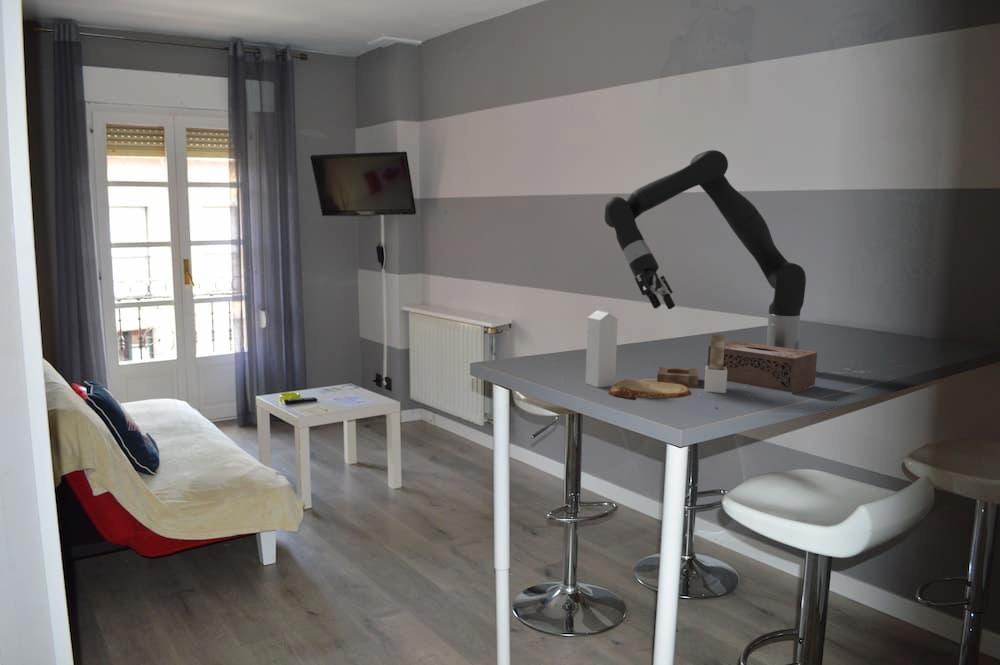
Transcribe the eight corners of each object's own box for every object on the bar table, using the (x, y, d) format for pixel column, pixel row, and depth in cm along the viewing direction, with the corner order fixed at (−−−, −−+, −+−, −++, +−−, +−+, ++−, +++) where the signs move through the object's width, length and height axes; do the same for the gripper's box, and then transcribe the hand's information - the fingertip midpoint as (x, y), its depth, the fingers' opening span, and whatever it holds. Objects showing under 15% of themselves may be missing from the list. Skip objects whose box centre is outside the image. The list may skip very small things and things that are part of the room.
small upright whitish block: (725, 390, 217) (726, 366, 216) (725, 395, 212) (727, 370, 211) (704, 389, 218) (705, 365, 217) (704, 393, 213) (705, 369, 212)
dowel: (721, 389, 216) (724, 334, 214) (721, 391, 213) (725, 336, 211) (708, 388, 217) (711, 333, 215) (708, 390, 214) (711, 335, 211)
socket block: (697, 380, 229) (697, 368, 228) (697, 389, 218) (698, 376, 218) (658, 378, 232) (659, 366, 231) (657, 386, 221) (657, 374, 220)
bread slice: (696, 396, 212) (697, 382, 212) (661, 407, 199) (662, 392, 198) (639, 385, 224) (639, 372, 223) (602, 395, 211) (602, 381, 210)
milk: (597, 388, 218) (600, 308, 214) (585, 383, 223) (587, 305, 220) (615, 385, 221) (618, 307, 217) (602, 381, 226) (605, 304, 223)
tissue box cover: (706, 379, 232) (708, 346, 231) (731, 373, 243) (733, 340, 241) (791, 394, 214) (794, 358, 213) (814, 387, 225) (817, 352, 223)
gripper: (638, 250, 224) (663, 300, 219) (662, 254, 235) (687, 301, 230) (618, 264, 228) (642, 313, 223) (642, 267, 239) (666, 314, 234)
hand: (665, 307), depth 226 cm, fingers open, 8 cm apart
